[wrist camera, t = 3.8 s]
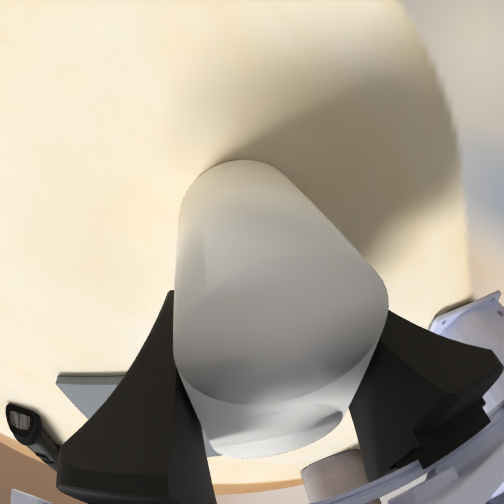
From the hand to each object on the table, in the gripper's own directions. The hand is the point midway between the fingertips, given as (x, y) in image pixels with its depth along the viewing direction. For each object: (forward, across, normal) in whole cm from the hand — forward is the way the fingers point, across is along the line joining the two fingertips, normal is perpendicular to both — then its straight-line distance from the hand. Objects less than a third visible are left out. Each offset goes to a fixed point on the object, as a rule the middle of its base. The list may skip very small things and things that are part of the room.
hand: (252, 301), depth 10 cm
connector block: (+2, 0, 0) cm, 2 cm away
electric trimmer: (+2, +22, +18) cm, 28 cm away
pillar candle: (+2, -11, +38) cm, 40 cm away
